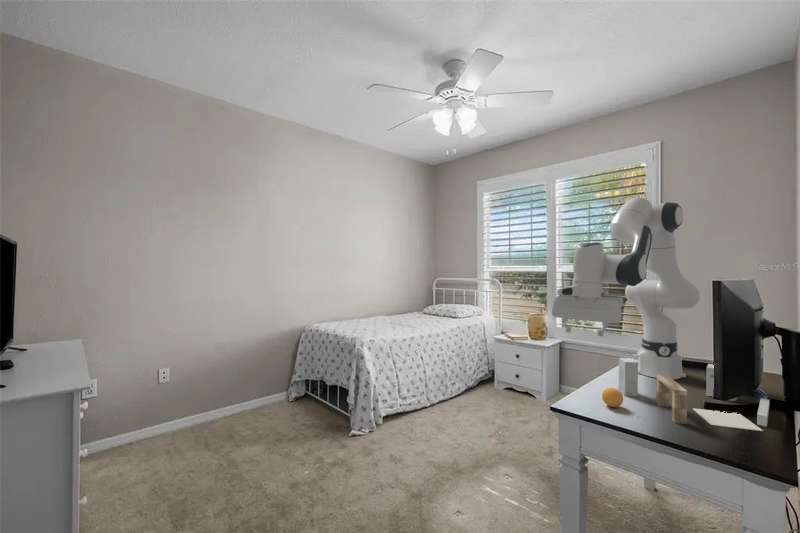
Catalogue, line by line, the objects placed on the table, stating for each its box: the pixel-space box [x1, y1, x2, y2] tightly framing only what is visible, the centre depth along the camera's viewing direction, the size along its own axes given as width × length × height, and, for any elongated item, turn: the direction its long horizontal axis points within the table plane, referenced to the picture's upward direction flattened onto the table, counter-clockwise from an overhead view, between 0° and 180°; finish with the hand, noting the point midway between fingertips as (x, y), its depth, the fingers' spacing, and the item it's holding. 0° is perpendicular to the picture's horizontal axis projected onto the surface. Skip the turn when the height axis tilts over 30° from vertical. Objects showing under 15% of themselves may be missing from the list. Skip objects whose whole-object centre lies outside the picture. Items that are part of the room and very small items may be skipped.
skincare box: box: [618, 357, 639, 397], centre depth 131 cm, size 6×4×12 cm
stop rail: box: [756, 397, 770, 428], centre depth 112 cm, size 18×2×3 cm, turn 133°
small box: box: [705, 363, 715, 397], centre depth 127 cm, size 8×6×10 cm
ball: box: [601, 387, 624, 408], centre depth 119 cm, size 6×6×6 cm
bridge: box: [655, 374, 688, 425], centre depth 114 cm, size 3×15×10 cm, turn 162°
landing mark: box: [692, 407, 764, 432], centre depth 110 cm, size 12×12×1 cm
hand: (583, 334), depth 119 cm, fingers open, 8 cm apart
